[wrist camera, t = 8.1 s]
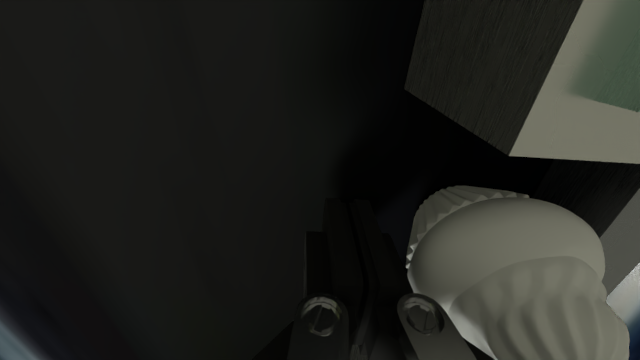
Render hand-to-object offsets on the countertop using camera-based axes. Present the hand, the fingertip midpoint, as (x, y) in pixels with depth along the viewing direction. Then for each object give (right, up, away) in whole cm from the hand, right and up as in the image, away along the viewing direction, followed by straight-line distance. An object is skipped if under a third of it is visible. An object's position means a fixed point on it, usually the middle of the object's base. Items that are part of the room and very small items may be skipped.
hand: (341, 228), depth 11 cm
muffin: (+5, 0, +2) cm, 5 cm away
